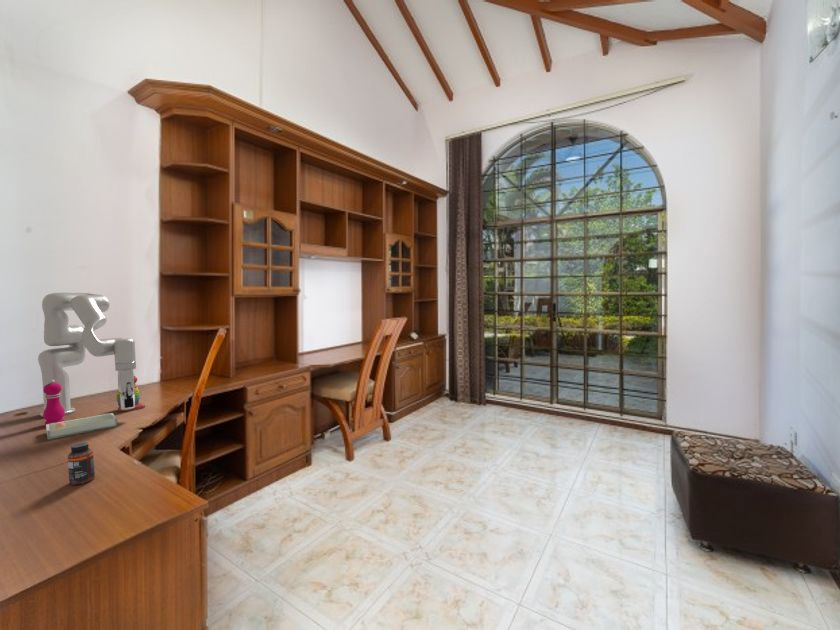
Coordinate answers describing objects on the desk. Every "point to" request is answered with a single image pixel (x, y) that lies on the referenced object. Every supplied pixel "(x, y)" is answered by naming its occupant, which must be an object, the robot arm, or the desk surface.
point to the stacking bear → (137, 396)
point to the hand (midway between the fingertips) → (127, 405)
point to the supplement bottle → (80, 464)
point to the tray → (81, 426)
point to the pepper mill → (53, 403)
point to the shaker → (122, 397)
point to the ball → (60, 425)
